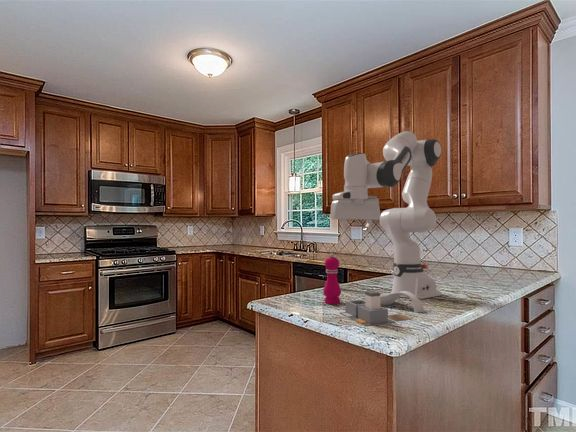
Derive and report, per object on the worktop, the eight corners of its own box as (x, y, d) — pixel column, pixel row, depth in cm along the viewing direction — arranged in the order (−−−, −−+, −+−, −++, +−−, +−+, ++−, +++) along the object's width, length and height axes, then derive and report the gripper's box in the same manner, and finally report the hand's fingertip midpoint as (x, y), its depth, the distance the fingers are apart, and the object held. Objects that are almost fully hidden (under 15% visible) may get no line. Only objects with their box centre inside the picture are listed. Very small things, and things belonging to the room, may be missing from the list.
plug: (374, 318, 116) (373, 290, 116) (380, 320, 113) (380, 292, 113) (365, 319, 115) (365, 291, 115) (371, 322, 112) (371, 293, 112)
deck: (399, 316, 122) (399, 313, 122) (413, 321, 116) (413, 319, 116) (382, 318, 120) (382, 315, 120) (396, 323, 113) (396, 321, 113)
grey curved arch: (358, 304, 140) (358, 286, 141) (377, 300, 148) (377, 283, 148) (411, 317, 122) (410, 296, 122) (430, 312, 129) (429, 292, 129)
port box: (366, 312, 127) (365, 298, 127) (394, 324, 112) (394, 308, 112) (339, 315, 123) (339, 301, 123) (365, 328, 108) (365, 312, 108)
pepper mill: (340, 304, 139) (340, 254, 140) (322, 304, 141) (322, 254, 141) (341, 300, 146) (341, 252, 147) (324, 300, 148) (323, 252, 148)
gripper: (373, 196, 141) (374, 231, 141) (328, 195, 134) (328, 231, 134) (383, 195, 135) (383, 231, 135) (336, 194, 128) (336, 232, 128)
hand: (356, 231), depth 134 cm, fingers open, 8 cm apart
